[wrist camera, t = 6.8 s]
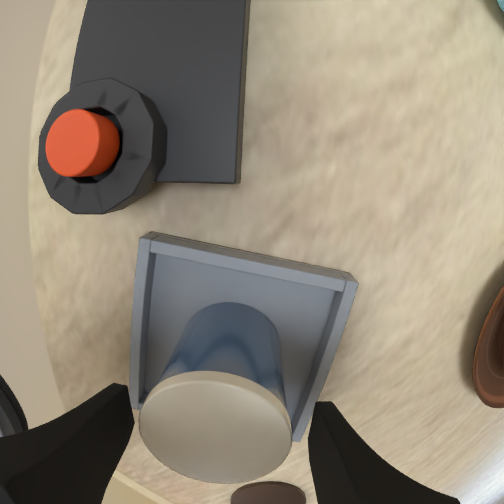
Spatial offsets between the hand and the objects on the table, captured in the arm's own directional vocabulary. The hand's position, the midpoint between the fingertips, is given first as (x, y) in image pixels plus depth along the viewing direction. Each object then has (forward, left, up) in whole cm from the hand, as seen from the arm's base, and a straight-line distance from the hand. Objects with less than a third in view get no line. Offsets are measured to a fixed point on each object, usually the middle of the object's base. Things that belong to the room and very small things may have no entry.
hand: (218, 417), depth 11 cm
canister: (0, 0, -6) cm, 6 cm away
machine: (-7, +16, -6) cm, 19 cm away
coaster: (+5, -15, -6) cm, 17 cm away
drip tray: (0, 0, -6) cm, 6 cm away
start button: (-7, +9, -2) cm, 11 cm away
